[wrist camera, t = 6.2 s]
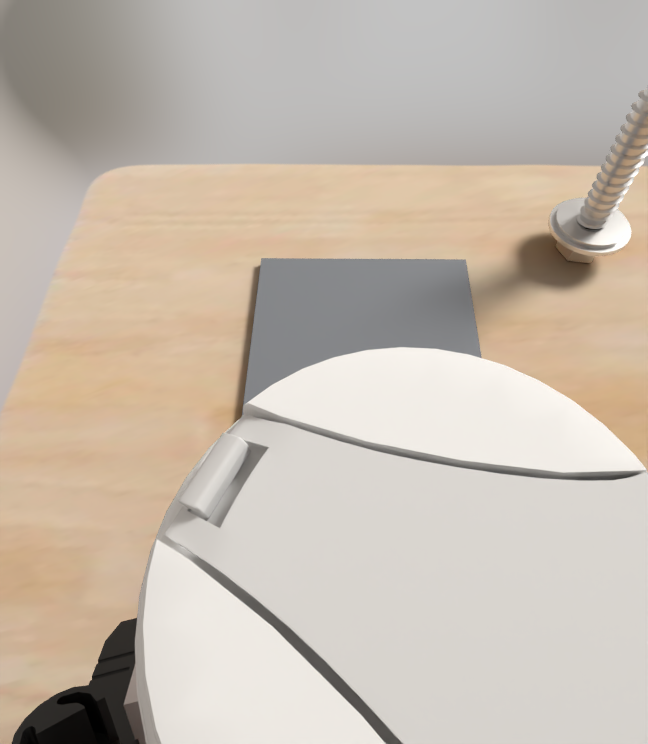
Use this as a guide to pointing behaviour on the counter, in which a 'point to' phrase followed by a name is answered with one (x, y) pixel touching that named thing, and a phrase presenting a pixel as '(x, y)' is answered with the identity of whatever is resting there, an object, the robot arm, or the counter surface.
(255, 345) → the slate mat
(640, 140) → the screw
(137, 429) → the counter surface
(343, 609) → the paper cup
